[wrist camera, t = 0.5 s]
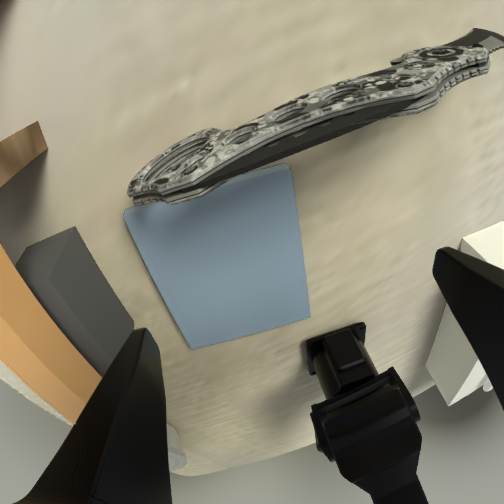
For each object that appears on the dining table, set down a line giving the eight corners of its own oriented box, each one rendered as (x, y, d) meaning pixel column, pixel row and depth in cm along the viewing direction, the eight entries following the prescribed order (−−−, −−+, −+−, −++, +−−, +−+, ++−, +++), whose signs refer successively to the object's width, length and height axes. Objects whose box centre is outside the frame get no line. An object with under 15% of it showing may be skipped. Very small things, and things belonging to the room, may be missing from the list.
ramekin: (90, 420, 35) (87, 453, 31) (151, 405, 34) (152, 443, 30) (139, 446, 41) (140, 475, 37) (197, 434, 40) (201, 465, 36)
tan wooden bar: (140, 414, 22) (140, 445, 20) (110, 417, 22) (109, 448, 20) (-38, 167, 9) (-73, 195, 7) (-66, 191, 9) (-98, 219, 7)
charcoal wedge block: (140, 329, 26) (136, 385, 21) (95, 340, 26) (86, 393, 21) (75, 225, 20) (48, 278, 15) (27, 246, 20) (-3, 298, 15)
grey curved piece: (471, 21, 15) (570, 39, 7) (476, 37, 16) (573, 61, 8) (136, 162, 18) (98, 250, 10) (149, 180, 19) (124, 279, 11)
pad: (307, 309, 28) (310, 317, 28) (191, 341, 28) (191, 349, 27) (285, 163, 20) (290, 168, 19) (125, 209, 20) (123, 216, 19)
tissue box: (529, 207, 28) (586, 255, 19) (486, 330, 43) (517, 374, 34) (460, 236, 28) (527, 304, 19) (424, 364, 42) (454, 418, 34)
